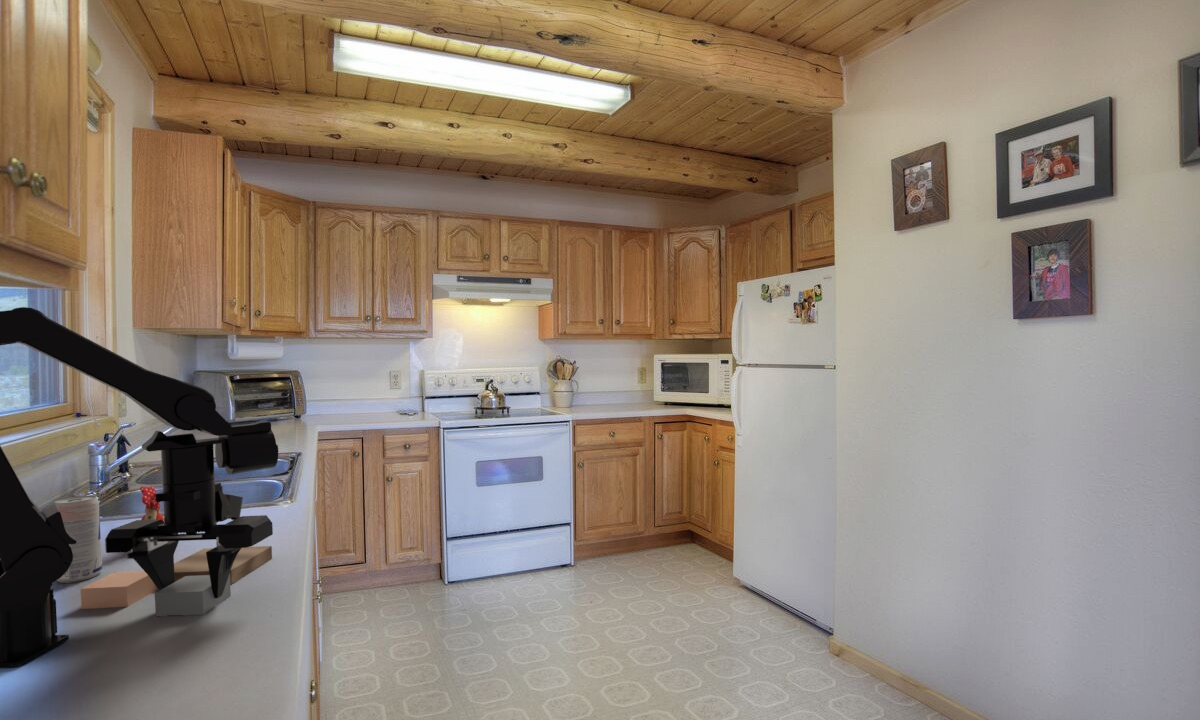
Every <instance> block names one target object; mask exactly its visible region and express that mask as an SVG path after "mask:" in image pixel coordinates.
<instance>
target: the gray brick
mask: <svg viewBox="0 0 1200 720" xmlns="http://www.w3.org/2000/svg"><path fill="white" fill-rule="evenodd" d="M231 593H232V591H231V584H230V574H229V577H228V580H227V583H226V585H225V588H224V591H223V594H222V596H220V597H219V598H214V594H213V591H212V587H211V581H210V575H198V576H185V577H183V578H181V579H179V580H178V581H176V582H174V583H172V584H170V585H169V586H167V587H165V588H163V589H161V590H160V591H159V590H157V591H155V592H154V605H155V606H154V609H155V610H154V611H155V612H154V613H155V618H158V617H157V616H161V617H168V616H167V615H183V616H200V615H201V616H202V615H205V614H207V613H208V612H210V611H211V610H213V609H214V608H216V607H217V606H218V605H219V604H221V603H222V602H224V601H226V600H227V599H229V598H230V597H231V596H232V594H231ZM206 612H207V613H206Z"/></svg>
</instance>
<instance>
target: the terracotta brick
mask: <svg viewBox="0 0 1200 720" xmlns="http://www.w3.org/2000/svg"><path fill="white" fill-rule="evenodd" d="M157 591H159V590H158V588H157V587H156V585H155V584H154V583H153V581H152V579H150V577H149V576H148V575H147V573H146V572H145V571H144V570H140V571H139V570H137V571H116V572H113V573H110V574H109V575H106V576H104V577H102V578H100V579H98V580H96V581H94V582H92V583H89V584H87V585H85V586H84V587H83V586H82V588H80V603H81V605H80V606H81V610H84V609H85V610H86V609H87V610H88V609H106V608H124V607H126V608H128V607H129V606H131V605H133V604H135V603H137V602H139V601H141V600H142V599H144V598H145V597H148V596H149V595H151V594H153V593H156V592H157Z"/></svg>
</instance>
